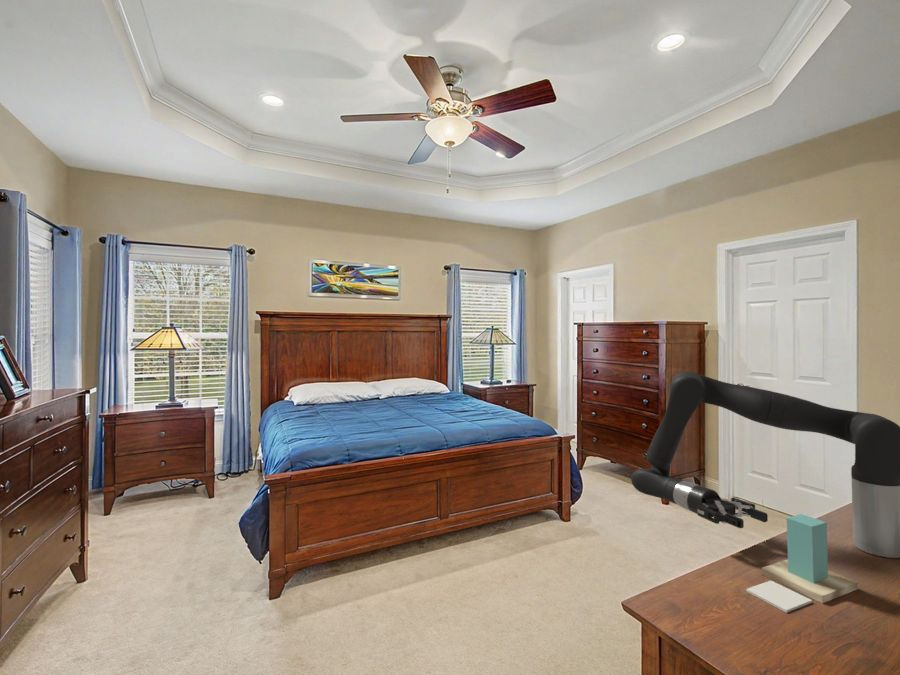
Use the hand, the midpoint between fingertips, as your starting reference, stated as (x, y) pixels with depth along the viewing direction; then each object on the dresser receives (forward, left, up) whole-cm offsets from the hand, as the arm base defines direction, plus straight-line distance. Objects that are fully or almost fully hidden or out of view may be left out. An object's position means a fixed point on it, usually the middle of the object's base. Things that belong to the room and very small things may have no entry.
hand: (754, 521), depth 108 cm
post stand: (0, +11, -9) cm, 14 cm away
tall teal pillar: (0, +11, -7) cm, 14 cm away
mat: (+11, +12, -9) cm, 19 cm away
